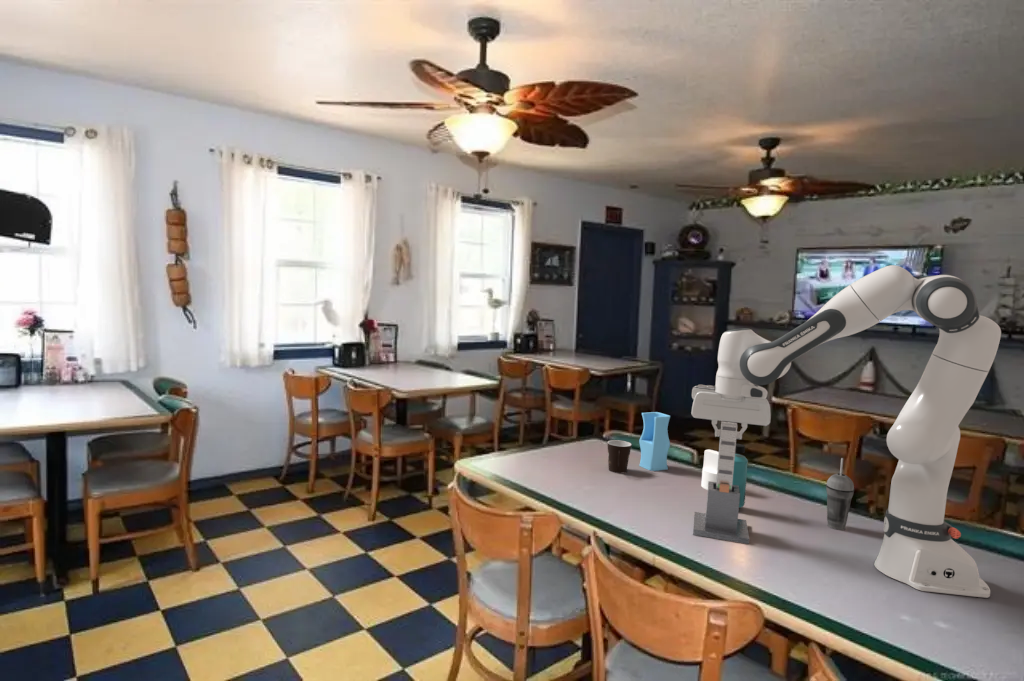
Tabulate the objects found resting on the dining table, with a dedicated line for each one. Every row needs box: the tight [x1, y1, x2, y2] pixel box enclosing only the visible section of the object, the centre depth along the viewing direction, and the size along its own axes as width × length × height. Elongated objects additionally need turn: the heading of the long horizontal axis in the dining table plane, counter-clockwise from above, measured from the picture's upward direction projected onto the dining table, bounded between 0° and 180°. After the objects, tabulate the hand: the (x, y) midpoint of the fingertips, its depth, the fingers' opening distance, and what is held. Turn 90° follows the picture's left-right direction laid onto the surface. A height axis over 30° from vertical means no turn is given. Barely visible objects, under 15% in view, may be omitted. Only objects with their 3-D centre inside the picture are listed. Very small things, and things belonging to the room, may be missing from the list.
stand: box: [692, 481, 750, 545], centre depth 163 cm, size 14×14×14 cm
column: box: [716, 421, 738, 492], centre depth 162 cm, size 4×4×22 cm
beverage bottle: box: [732, 443, 749, 508], centre depth 181 cm, size 6×7×20 cm
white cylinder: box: [700, 448, 719, 491], centre depth 201 cm, size 9×9×12 cm
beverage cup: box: [825, 457, 855, 531], centre depth 170 cm, size 7×7×20 cm
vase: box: [638, 411, 671, 472], centre depth 221 cm, size 8×8×20 cm
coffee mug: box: [606, 439, 632, 474], centre depth 213 cm, size 12×9×10 cm
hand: (728, 437), depth 162 cm, fingers closed on column, 4 cm apart
